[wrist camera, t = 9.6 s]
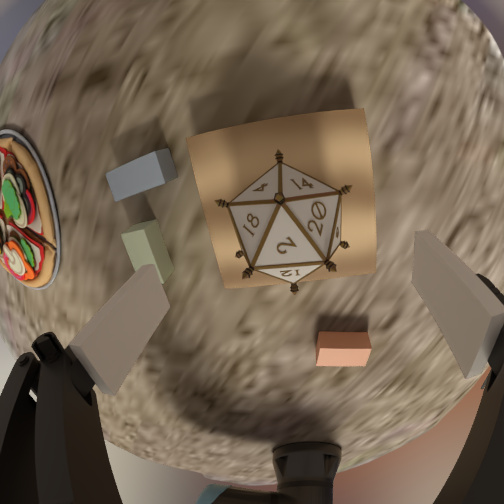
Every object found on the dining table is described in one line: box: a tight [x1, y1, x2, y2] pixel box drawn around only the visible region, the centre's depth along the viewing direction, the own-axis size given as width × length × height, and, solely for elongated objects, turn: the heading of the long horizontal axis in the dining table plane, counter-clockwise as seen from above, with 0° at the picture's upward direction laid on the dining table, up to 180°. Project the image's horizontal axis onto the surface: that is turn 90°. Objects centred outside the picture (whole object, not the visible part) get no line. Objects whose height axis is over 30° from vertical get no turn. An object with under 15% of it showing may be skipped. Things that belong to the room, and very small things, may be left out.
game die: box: [214, 149, 353, 295], centre depth 18 cm, size 9×8×10 cm
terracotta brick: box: [316, 331, 372, 366], centre depth 29 cm, size 6×3×3 cm, turn 91°
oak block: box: [186, 108, 376, 289], centre depth 23 cm, size 14×14×3 cm
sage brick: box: [121, 219, 174, 284], centre depth 27 cm, size 6×3×3 cm, turn 12°
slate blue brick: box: [106, 148, 178, 202], centre depth 24 cm, size 6×3×3 cm, turn 106°
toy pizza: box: [0, 129, 60, 290], centre depth 29 cm, size 28×28×4 cm
